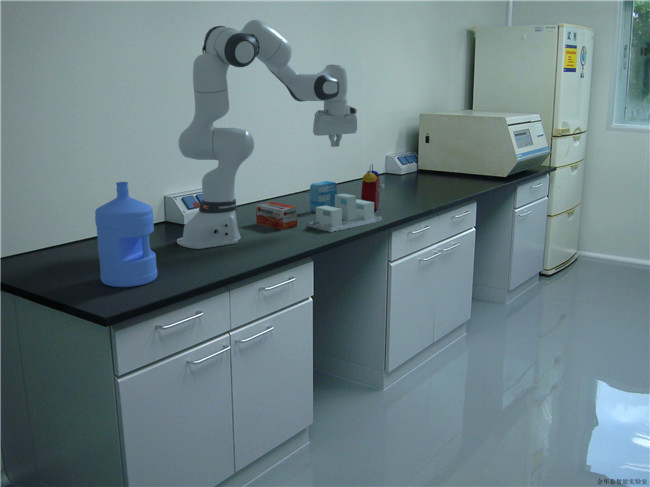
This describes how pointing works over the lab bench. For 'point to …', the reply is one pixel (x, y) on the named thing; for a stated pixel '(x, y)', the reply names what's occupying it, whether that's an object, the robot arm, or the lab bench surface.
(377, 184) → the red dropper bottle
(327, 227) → the din rail
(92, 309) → the lab bench surface
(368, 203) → the block
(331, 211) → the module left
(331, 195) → the blue printed box
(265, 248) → the lab bench surface
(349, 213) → the block
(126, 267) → the water jug
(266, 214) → the medicine box
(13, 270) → the lab bench surface
